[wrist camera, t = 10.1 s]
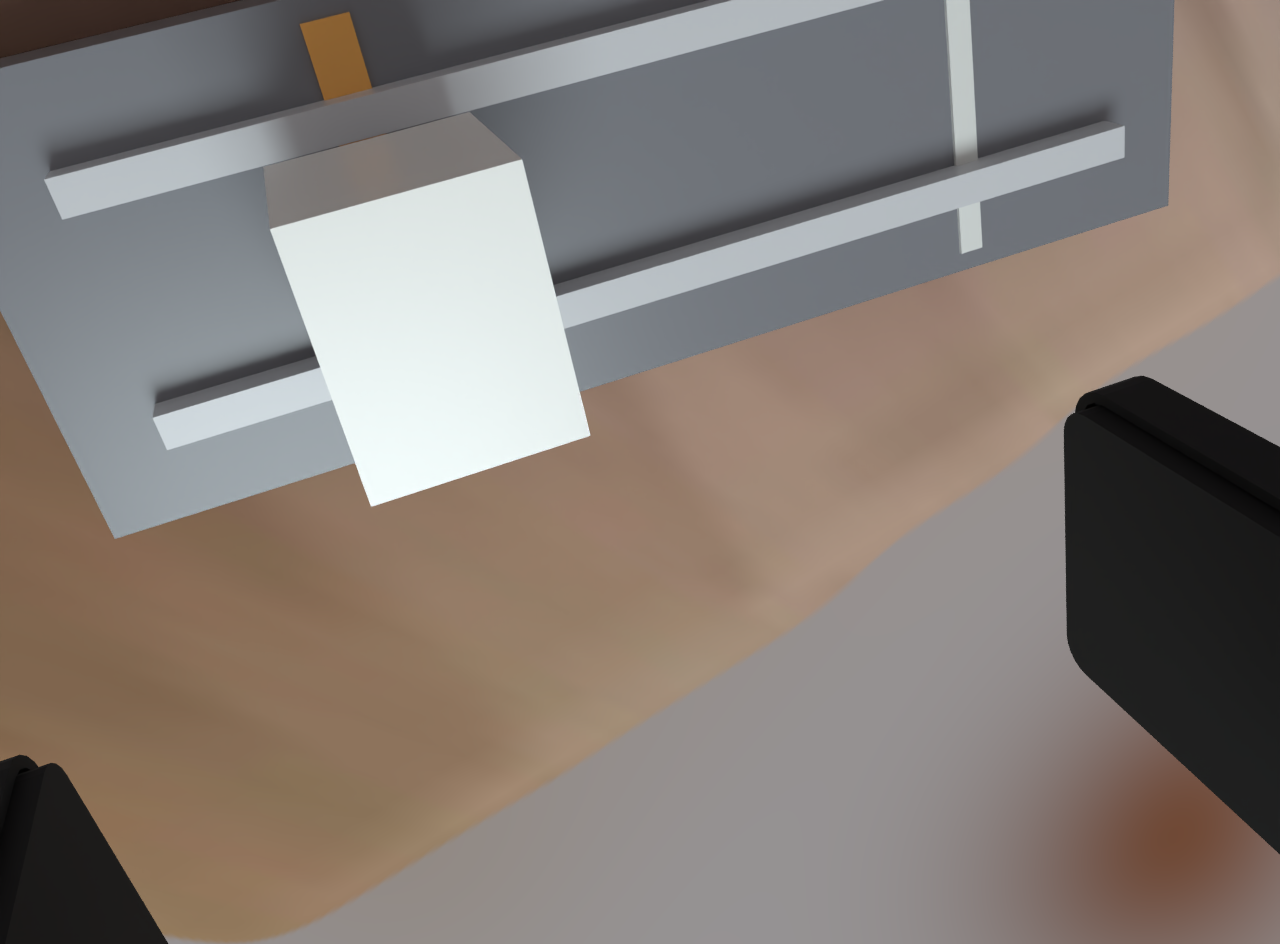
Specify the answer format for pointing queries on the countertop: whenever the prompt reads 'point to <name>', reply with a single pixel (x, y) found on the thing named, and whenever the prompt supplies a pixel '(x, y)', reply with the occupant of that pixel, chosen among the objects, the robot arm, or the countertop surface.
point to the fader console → (535, 186)
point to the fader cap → (427, 302)
